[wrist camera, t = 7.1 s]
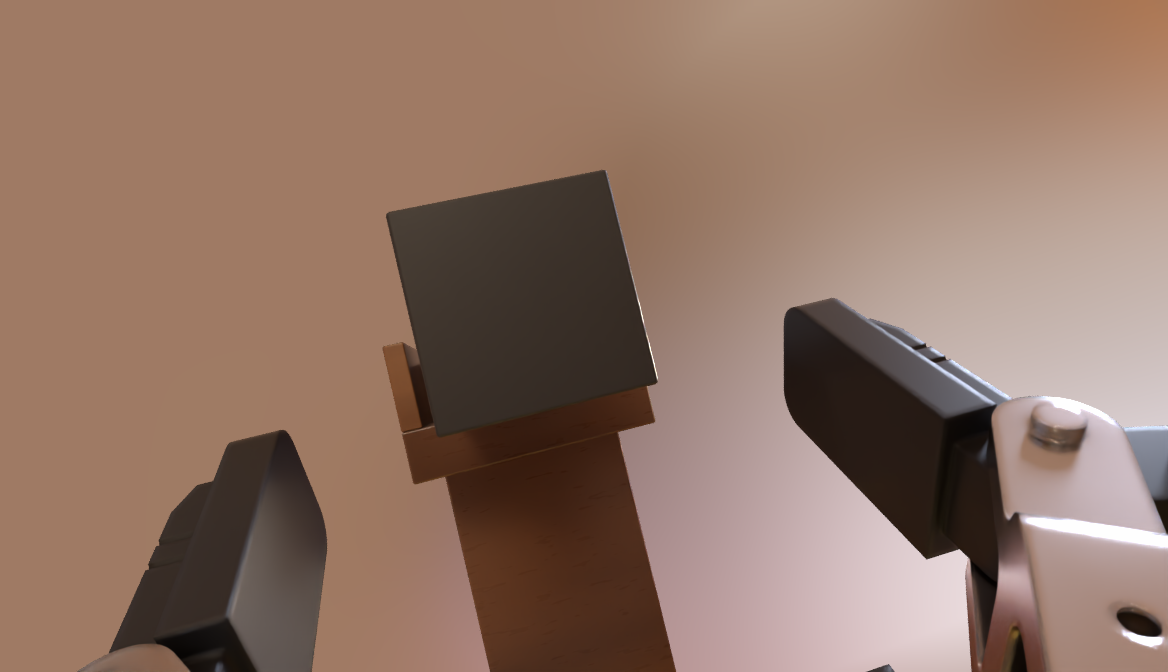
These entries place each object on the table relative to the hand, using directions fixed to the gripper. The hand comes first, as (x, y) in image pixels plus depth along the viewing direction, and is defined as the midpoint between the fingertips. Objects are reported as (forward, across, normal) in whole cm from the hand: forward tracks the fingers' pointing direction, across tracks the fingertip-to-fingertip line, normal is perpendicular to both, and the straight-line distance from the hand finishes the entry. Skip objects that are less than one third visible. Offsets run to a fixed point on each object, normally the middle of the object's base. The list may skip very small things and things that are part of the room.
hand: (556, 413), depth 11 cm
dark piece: (+10, 0, +6) cm, 11 cm away
